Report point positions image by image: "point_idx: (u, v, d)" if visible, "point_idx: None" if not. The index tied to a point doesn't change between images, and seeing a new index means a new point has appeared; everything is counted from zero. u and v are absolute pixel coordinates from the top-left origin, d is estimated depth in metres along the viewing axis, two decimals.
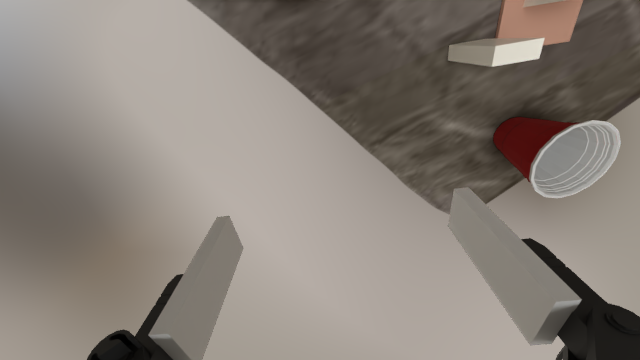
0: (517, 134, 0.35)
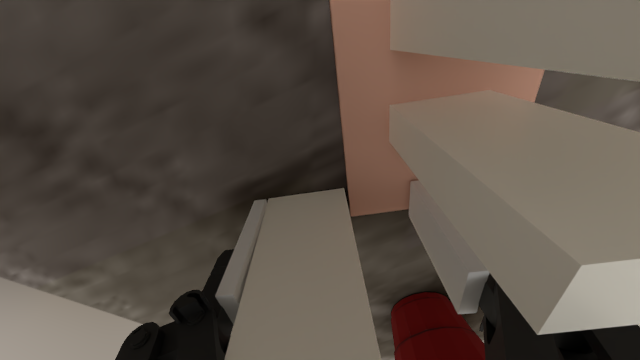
0: None
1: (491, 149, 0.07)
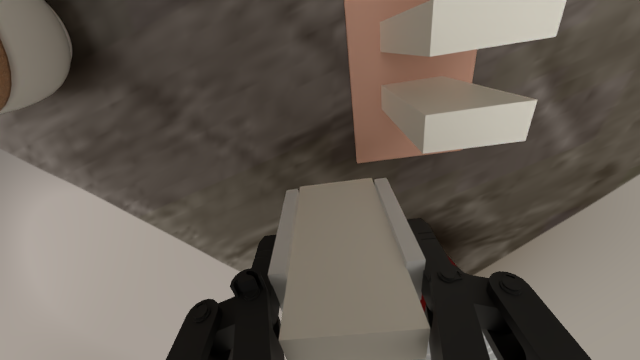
0: None
1: (421, 96, 0.15)
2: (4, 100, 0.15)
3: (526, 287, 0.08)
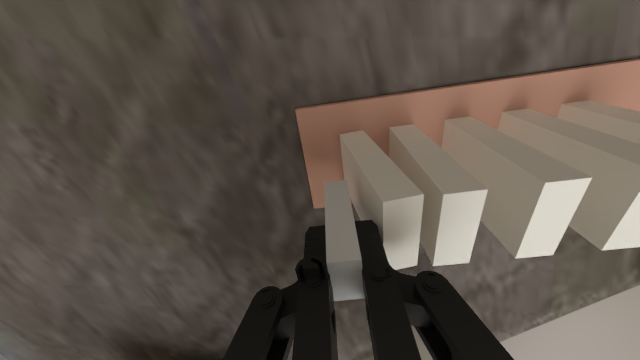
0: None
1: None
2: None
3: (445, 282, 0.09)
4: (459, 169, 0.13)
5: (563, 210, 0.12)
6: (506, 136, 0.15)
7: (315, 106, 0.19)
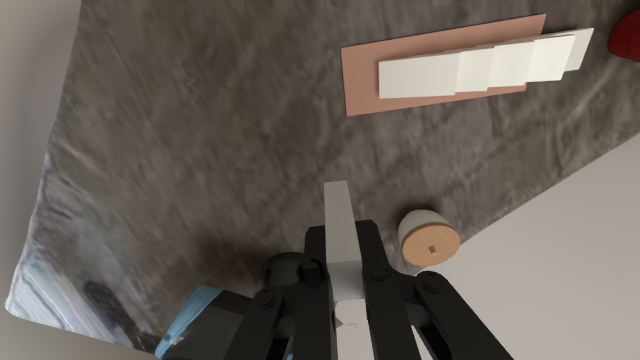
0: None
1: None
2: (455, 230, 0.43)
3: (445, 282, 0.09)
4: None
5: None
6: (482, 46, 0.32)
7: (352, 46, 0.34)
